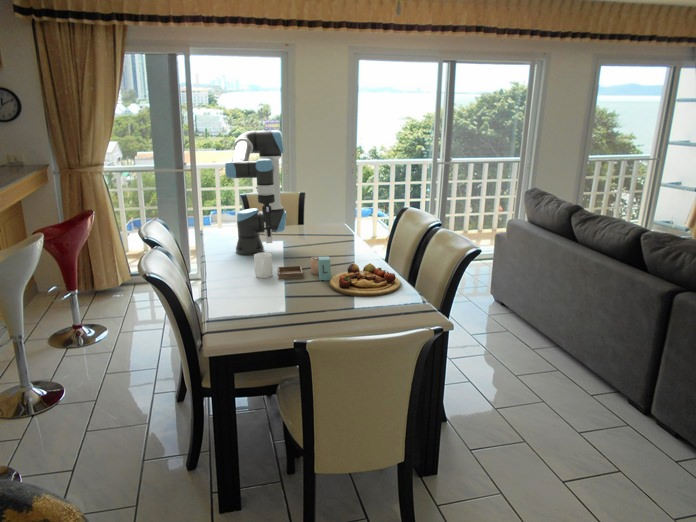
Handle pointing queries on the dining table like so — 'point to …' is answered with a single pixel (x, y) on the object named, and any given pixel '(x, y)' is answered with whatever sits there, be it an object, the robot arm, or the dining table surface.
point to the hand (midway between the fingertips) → (268, 239)
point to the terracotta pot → (314, 265)
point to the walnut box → (290, 272)
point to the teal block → (324, 268)
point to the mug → (263, 265)
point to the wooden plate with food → (365, 282)
